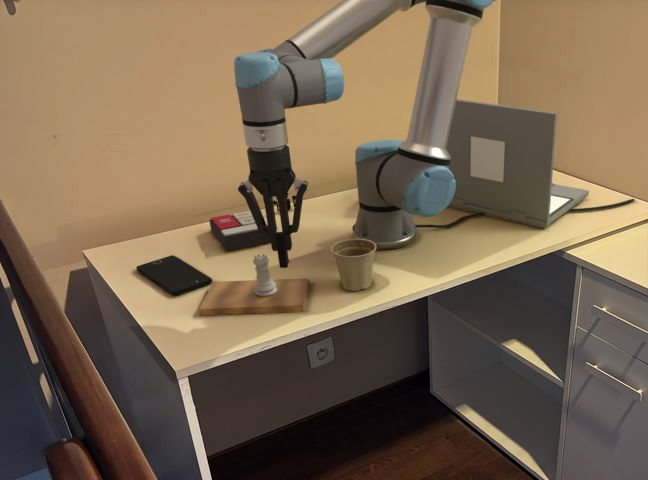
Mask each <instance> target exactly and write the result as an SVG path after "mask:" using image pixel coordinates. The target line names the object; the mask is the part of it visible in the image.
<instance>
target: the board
mask: <svg viewBox="0 0 648 480" xmlns="http://www.w3.org/2000/svg"><path fill="white" fill-rule="evenodd" d="M272 279H273V281H274V282H275V283H276V288H277V291H276V293H275V294H273V295H271V296H268V297H261V296H258V295H257V294H256V293H255V290H256V289H255V284H256V281H257V279H250V280H248V279H247V280H245V279H244V280H223V281H221V280H220V281H212V283H211V285H210V287H209V289H208V291H207V294H206V295H205V298H204V299H203V302H202V304H201V306H200V307H199V311H200V315H201V316H221V315H222V316H225V315H226V316H227V315H246V314H247V315H250V314H252V315H253V314H272V313H273V314H274V313H275V314H276V313H297V312H298V313H299V312H300V313H301V312H305V309H306V303H307V299H308V295H309V290H310V286H311V282H310V281H311V280H310V278H309V277H305V278H276V279H275V278H272Z"/></svg>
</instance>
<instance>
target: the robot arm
mask: <svg viewBox="0 0 648 480" xmlns="http://www.w3.org/2000/svg"><path fill="white" fill-rule="evenodd" d="M495 1H496V0H341V1H339V2H338V3H336V4H335V5H334V6H333V7H331V8H330V9H328V10H327V11H325V12H324V13H322V15H320V16H318V17H317V18H316V19H314V20H313V21H311V22H310V23H308V24H307V25H306V26H304V27H303V28H302V29H300V30H299V31H298V32H296V33H295V34H293V35H291V36H290V37H289V38H288V39H286V40H284V41H283V42H281V43H280V44H279V45H277V46H276V47H274V48H264V49H263V48H262V49H259V50H258V51H256V52H246V53H240V54H238V55H237V56H236V57H235V58H234V61H233V67H234V79H235V82H234V83H235V87H236V91H237V97H238V104H239V108H240V114H241V122H242V129H243V136H244V142H245V145H246V146H247V147H248V148H247V149H246V154H247V155H246V156H247V160H248V167H249V174H248V177H247V178H248V179H247V180H245V181H242V182H240V184H239V185H238V187H237V191H238V193H240V195H241V196H242V197H243V198H244V199H245V202H246V204H247V207H248V209H249V211H251V214H252V216H253V218H254V221H255V223H256V225H257V228H258V230H259V232H260V233H261V234H268V235H269V236H270V241H271V242H270V246H271V251H272V252H277V258H278V264H279V269H287V268H289V264H290V258H289V251H291V250H292V247H293V241H292V234H296V233H298V231H299V228H300V224H301V223H300V222H301V216H302V207H303V201H304V195H305V193H306V191H307V188H308V187H309V186H308V185H309V182H308V181H307V180H301V179H300V178H298V177H297V175H296V173H295V172H294V170H293V167H292V160H291V152H290V151H291V150H290V147H289V146H288V143H289V135H288V127H287V118H286V110H289V109H294V108H300V107H301V108H302V107H307V106H314V105H320V104H324V105H326V104H327V103H331V102H332V103H333V102H335V101H338V100H339V99H341V98H342V97H343V94H344V91H345V77H344V73H343V70H342V67H341V66H340V64H339V63H338V62H337V60H335V59H334V58H335V57H337V56H338V55H340V54H341V53H342V52H343V51H345V50H346V49H347V48H349V47H350V46H352V45H353V44H354V43H356V42H357V41H358V40H360V39H361V38H363V37H364V36H365V35H366V34H368V33H370V31H372V30H374V29H375V28H377V27H378V26H379V25H380V24H382V23H383V22H385V21H386V20H388V19H389V18H390V17H392V16H393V15H394V14H396V13H397V12H398V11H400V12H407V11H409V10H410V9H411V8H413V7H414V6H416V5H420V4H422V3H425V5H424V8H425V11H426V12H427V13H428V15H429V19H430V20H429V25H428V30H427V34H426V35H427V36H426V40H425V45H424V50H423V55H422V59H421V67H420V71H419V74H418V75H419V76H418V81H417V86H416V90H415V95H414V101H413V105H412V106H413V107H412V112H411V115H410V122H409V125H408V126H409V127H408V130H407V137H406V139H405V140H400V139H381V140H373V141H369V142H365V143H362V144H359V146H357V147H356V149H355V157H354V164H355V172H356V186H357V197H358V212H357V216H356V220H355V223H354V224H353V225H352V232H353V239H366V240H370V241H372V242H374V243H375V244H376V246H377V248H376V250H379V251H380V250H382V251H388V250H395V249H400V248H404V247H407V246H410V245H411V244H412V243H414V242H415V241H416V240H417V235H418V234H417V229H419V228H421V229H423V228H424V229H426V228H427V229H428V228H431V229H432V228H434V229H447V228H450V227H454V226H456V225H457V224H459V223H461V222H462V221H464V220H467V219H470V218H475V217H481V216H485V215H486V214H485V213H471V214H467V215H464V216H461V217H460V218H458V219H456V220H455V221H452V222H450V223H446V224H416V223H415V222H414V219H413V216H417V217H420V218H424V219H428V218H433V217H436V216H438V215H439V214H441V213H442V212H443V211H445V210H446V209H447V208H448V207H447V206H448V205H449V204H450V202H451V200H452V198H453V196H454V193H455V188H456V182H455V179H454V178H453V177H454V175H453V174H452V172H451V171H450V170H449V165H450V160H451V156H450V155H449V153H448V151H447V149H446V146H447V141H448V137H449V132H450V128H451V123H452V118H453V114H454V109H455V105H456V100H457V99H458V95H459V90H460V87H461V82H462V81H461V80H462V77H463V72H464V67H465V63H466V58H467V53H468V49H469V44H470V40H471V35H472V29H473V28H474V27H476V26H477V25H478V24H480V23H481V22H482V19H483V15H484V11H485V9H487V8H488V7H490V6H491V5H492V4H493V3H494V2H495ZM293 185H294V187H293V189H294V191H295V192H296V195H295V196H296V199H295V200H294V201H295V207H294V206H293V208H294V209H293V215H292V223H291V222H290V215H289V210H288V207H287V200H286V194H287V192H288V193H289V191H290V189H291V188H292V186H293ZM254 188H255V190H256V191H257V192H258V193H259V194H260V195H261V196H262V199H263V204H264V208H265V209H264V210H265V217H266V220H265V218H264V215H263V213H262V209H261V208H260V205H259V203H258V200H257V198H256V195H255V194H254V192H253V190H254ZM274 197H275V198H276V197H277V198H276V201H277V203H278V206H279V211H278V212H279V218H280V225H281V231H277V230H278V227H277V218H276V213H275V212H276V211H275V205H273V201H274ZM635 201H636V200H635V198H630V199H627V200H624V201H620V202H616V203H612V204H611V203H610V204H608V205H607V204H606V205H601V206H600V205H599V206H593V207H581V208H571V209H570V210H568V211H567V212H566V213H568V212H569V213H574V212H587V211H597V210H604V209H611V208H614V207H619V206H623V205H626V204H630V203H633V202H635Z"/></svg>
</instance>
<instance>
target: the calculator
mask: <svg viewBox="0 0 648 480" xmlns="http://www.w3.org/2000/svg"><path fill="white" fill-rule="evenodd" d="M208 222H209V226H210V231H211V232H212V234H213V235H214V236H215V237H216V239H217V240H218V241H219V242H220V244H221V247H222V248H223V249H224V250H225V251H226V252H230V251H235V250H240V249H243V248H245V249H246V248H249V247H253V246H259V245H264V244H268V243H271V241H270V236H269V235H268V234H261V233H260V232H259V230H258V228H257V225H256V223H255V221H254V218H253V216H252V214H251V211H250V210H245V211H240V212H235V213H232V214H230V213H229V214H224V215H223V214H222V215H218V216H213V217H211V218H210V219H209V220H208Z"/></svg>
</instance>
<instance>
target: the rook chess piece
mask: <svg viewBox="0 0 648 480" xmlns="http://www.w3.org/2000/svg"><path fill="white" fill-rule="evenodd" d="M252 263H253V264H254V265H255V268H254V269H255V272H256V280H257V281H256V284H255V289H256V290H255V293H256V294H257V295H258V296H261V297H268V296H271V295H273V294H275V293H276V291H277V288H276V283H275V282H274V281H273V279H274V278H272V276H271V273H270V265H269V263H270V258H269V257H268V254H265V253H262V254H261V253H258V254H255V255H254V256H253V260H252Z"/></svg>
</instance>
